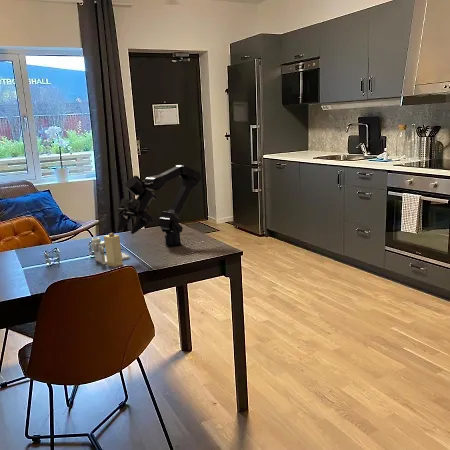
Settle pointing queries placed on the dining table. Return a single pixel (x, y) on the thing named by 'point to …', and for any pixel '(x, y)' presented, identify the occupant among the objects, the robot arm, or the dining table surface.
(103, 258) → the fixed leaf
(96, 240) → the valve
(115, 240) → the loose leaf
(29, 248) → the dining table surface
